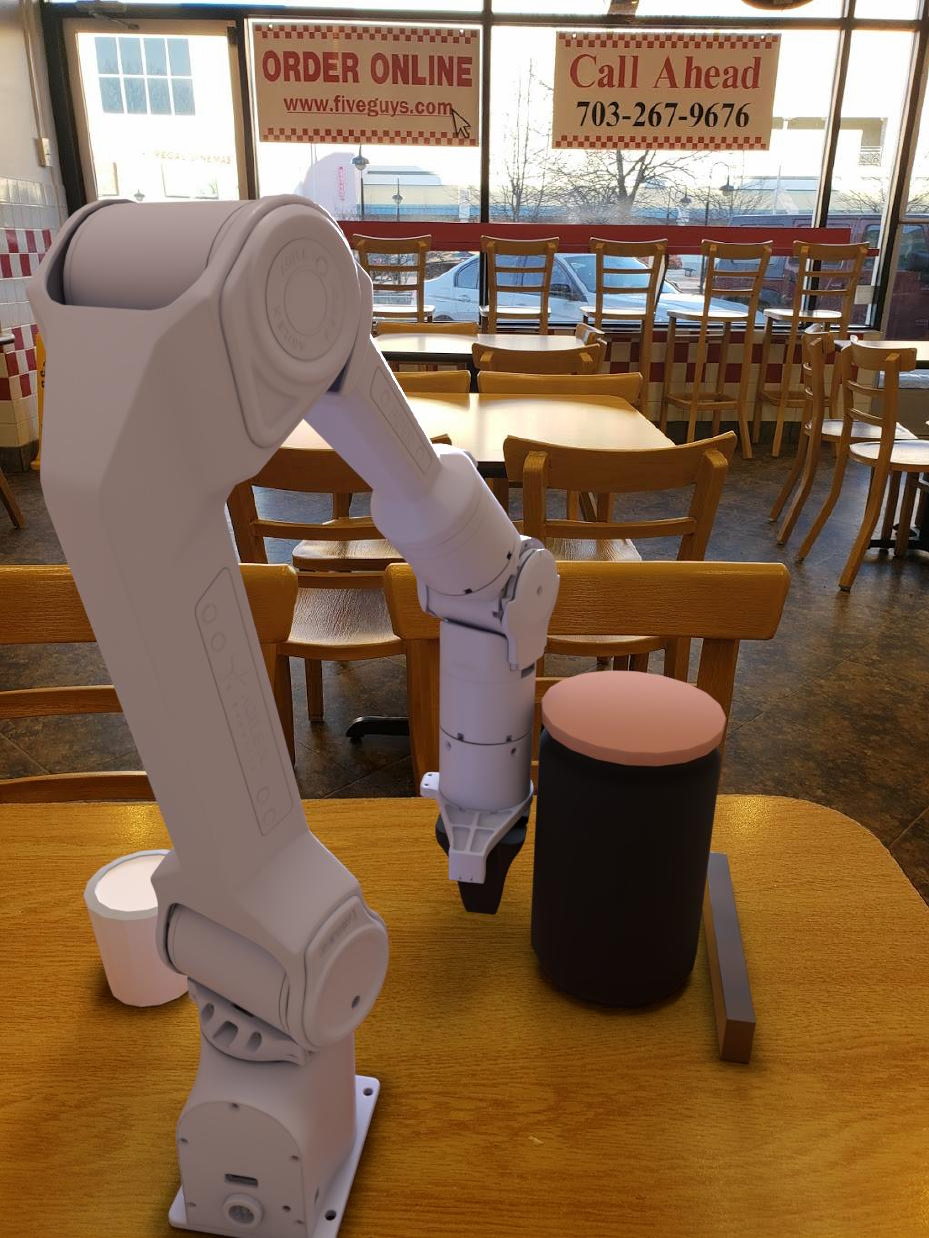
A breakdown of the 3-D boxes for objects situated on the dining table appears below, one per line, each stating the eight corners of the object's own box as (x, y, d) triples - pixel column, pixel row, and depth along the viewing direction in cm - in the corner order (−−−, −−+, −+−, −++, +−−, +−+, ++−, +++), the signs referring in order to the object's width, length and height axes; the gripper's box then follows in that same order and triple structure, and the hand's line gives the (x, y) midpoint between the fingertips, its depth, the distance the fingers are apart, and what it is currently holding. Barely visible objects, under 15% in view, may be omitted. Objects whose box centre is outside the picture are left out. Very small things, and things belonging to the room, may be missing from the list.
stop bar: (749, 1063, 53) (756, 1022, 52) (720, 1059, 53) (726, 1018, 52) (722, 888, 68) (726, 853, 67) (699, 885, 68) (703, 850, 67)
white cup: (195, 1015, 56) (184, 920, 53) (80, 1012, 56) (63, 917, 53) (224, 937, 62) (216, 848, 60) (122, 935, 62) (108, 846, 60)
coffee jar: (693, 914, 65) (722, 678, 58) (696, 1030, 55) (731, 762, 49) (540, 892, 67) (552, 662, 61) (517, 1000, 57) (528, 739, 51)
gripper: (443, 669, 64) (442, 837, 69) (394, 777, 51) (397, 976, 56) (546, 677, 63) (537, 847, 68) (524, 789, 50) (515, 991, 55)
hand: (481, 906), depth 62 cm, fingers closed
